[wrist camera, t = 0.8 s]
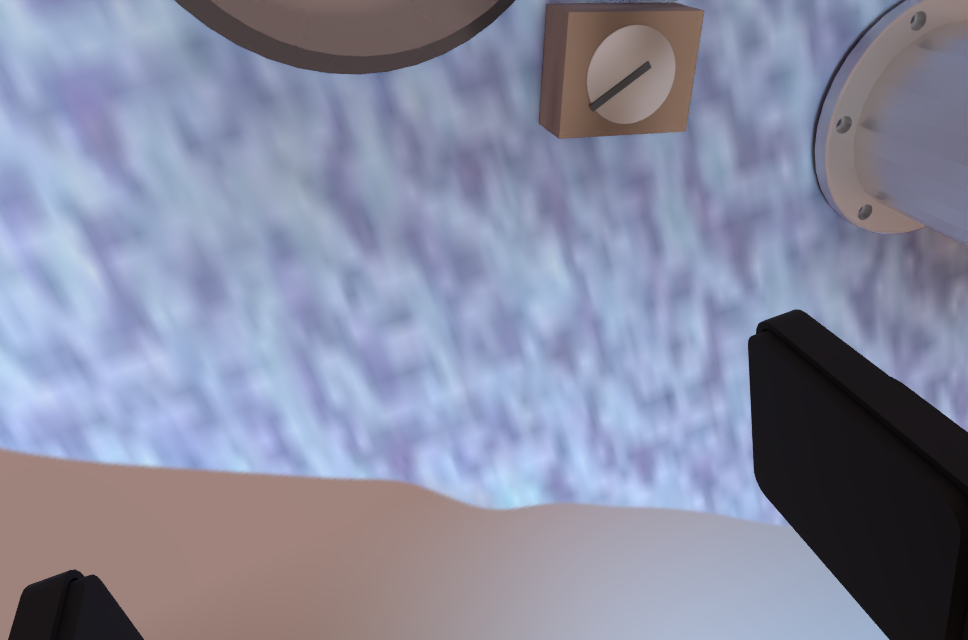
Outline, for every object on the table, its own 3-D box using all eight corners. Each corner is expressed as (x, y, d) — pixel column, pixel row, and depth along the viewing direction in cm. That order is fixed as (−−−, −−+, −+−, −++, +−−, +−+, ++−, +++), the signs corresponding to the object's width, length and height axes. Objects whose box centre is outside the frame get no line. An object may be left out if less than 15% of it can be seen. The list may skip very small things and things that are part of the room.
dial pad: (675, 2, 34) (706, 11, 32) (659, 117, 37) (688, 132, 35) (546, 4, 33) (570, 12, 31) (539, 123, 35) (560, 139, 33)
